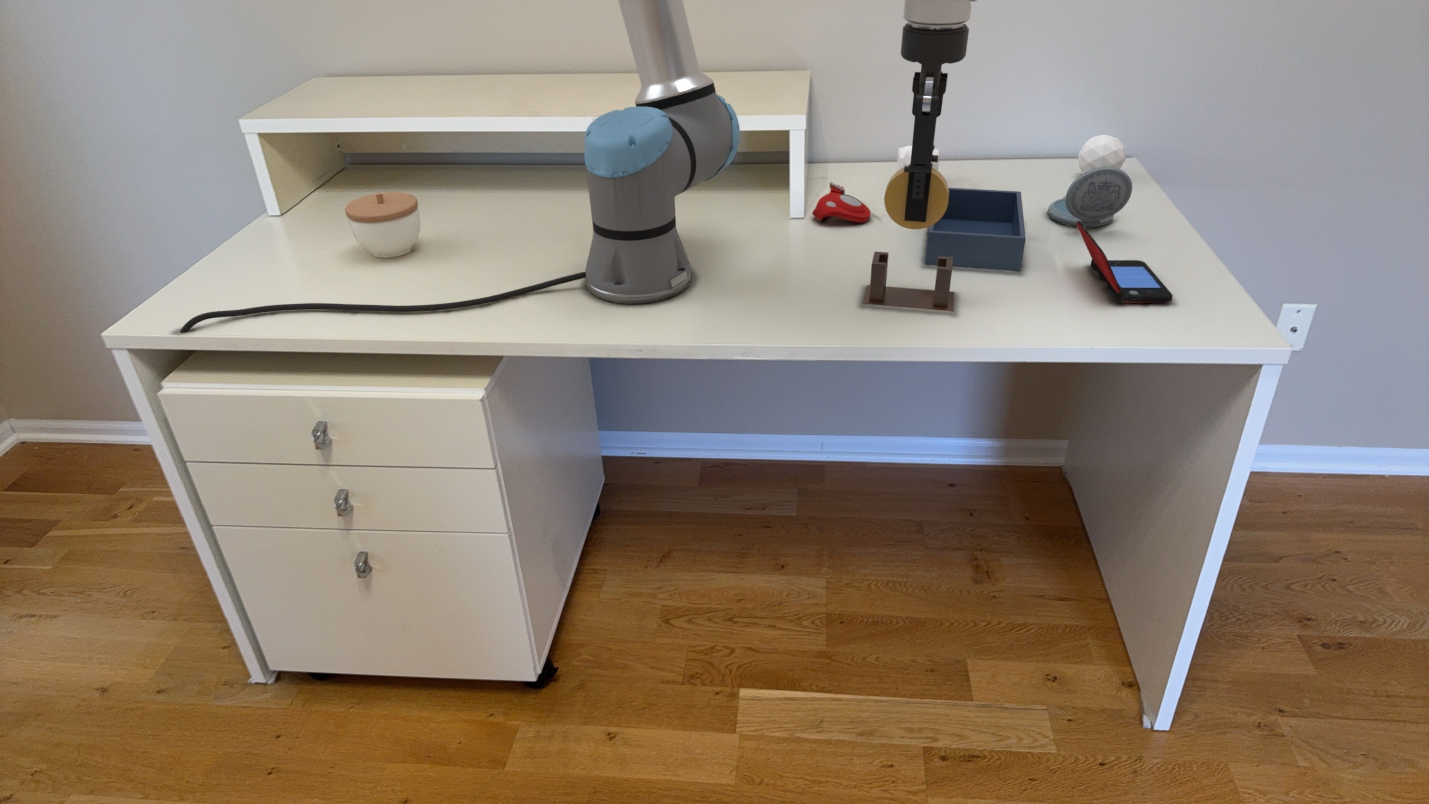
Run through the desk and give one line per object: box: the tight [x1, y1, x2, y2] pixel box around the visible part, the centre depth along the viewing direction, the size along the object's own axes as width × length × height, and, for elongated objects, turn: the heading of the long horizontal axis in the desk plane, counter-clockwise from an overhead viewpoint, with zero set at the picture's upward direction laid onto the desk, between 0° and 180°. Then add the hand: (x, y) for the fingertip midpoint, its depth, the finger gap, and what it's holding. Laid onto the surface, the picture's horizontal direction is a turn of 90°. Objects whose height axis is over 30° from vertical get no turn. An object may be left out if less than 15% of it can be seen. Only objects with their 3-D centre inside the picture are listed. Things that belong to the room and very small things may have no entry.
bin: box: [924, 187, 1026, 272], centre depth 138 cm, size 19×13×6 cm
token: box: [883, 168, 950, 230], centre depth 116 cm, size 2×8×8 cm, turn 76°
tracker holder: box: [811, 181, 872, 223], centre depth 151 cm, size 12×4×10 cm
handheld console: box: [1077, 221, 1174, 304], centre depth 124 cm, size 12×11×7 cm
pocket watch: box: [1047, 167, 1133, 228], centre depth 144 cm, size 10×11×15 cm
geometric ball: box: [1077, 133, 1126, 174], centre depth 161 cm, size 8×8×8 cm
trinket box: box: [344, 191, 421, 259], centre depth 141 cm, size 11×11×9 cm
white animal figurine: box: [895, 144, 942, 173], centre depth 159 cm, size 8×8×15 cm
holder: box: [861, 251, 955, 312], centre depth 122 cm, size 12×6×6 cm, turn 76°
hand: (915, 216), depth 118 cm, fingers closed on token, 2 cm apart
